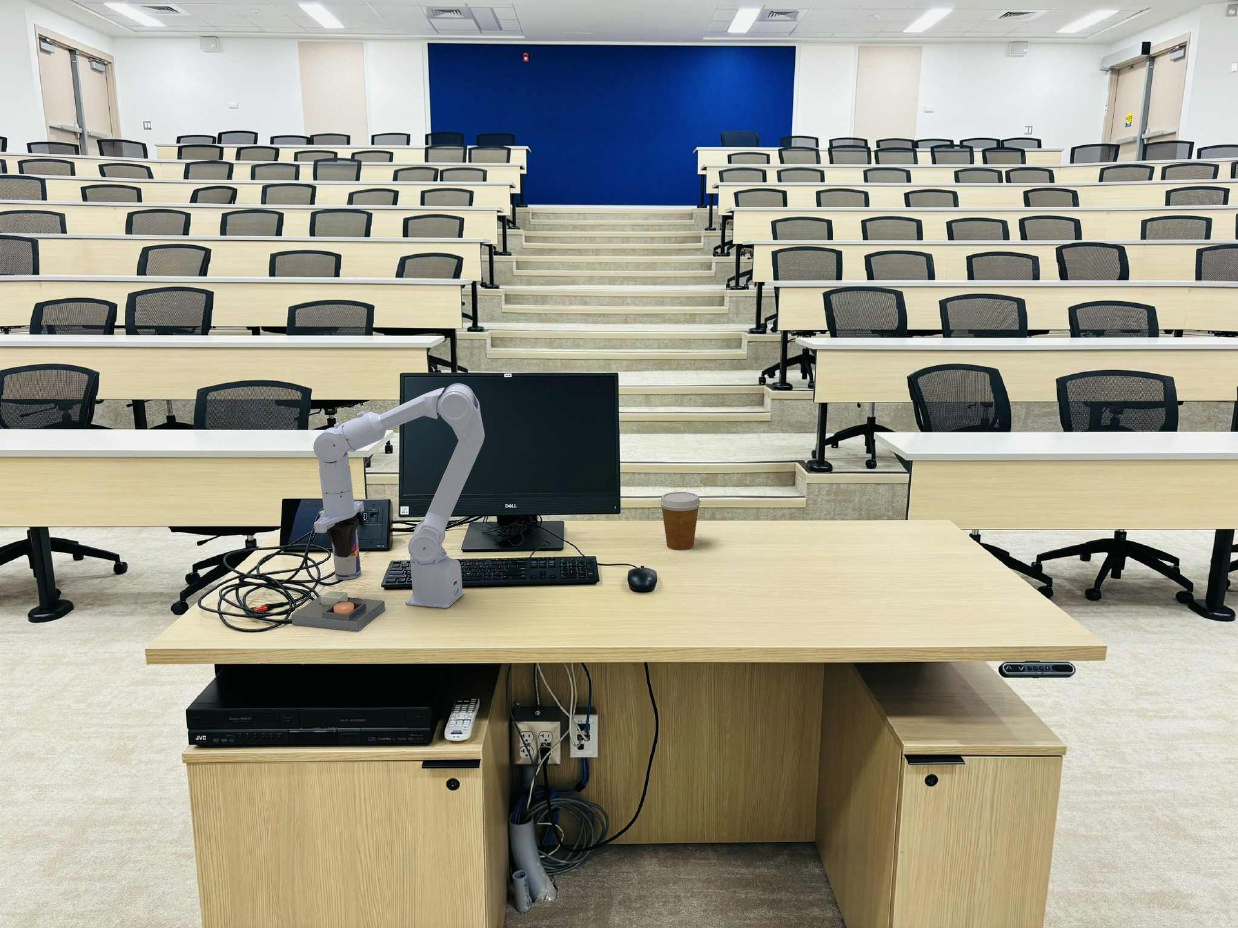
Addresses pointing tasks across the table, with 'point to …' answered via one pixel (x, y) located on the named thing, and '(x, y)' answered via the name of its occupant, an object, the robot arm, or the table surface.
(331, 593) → the on key
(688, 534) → the disposable coffee cup
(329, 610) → the panel
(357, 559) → the energy drink
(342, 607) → the button
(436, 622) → the table surface
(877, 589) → the table surface
